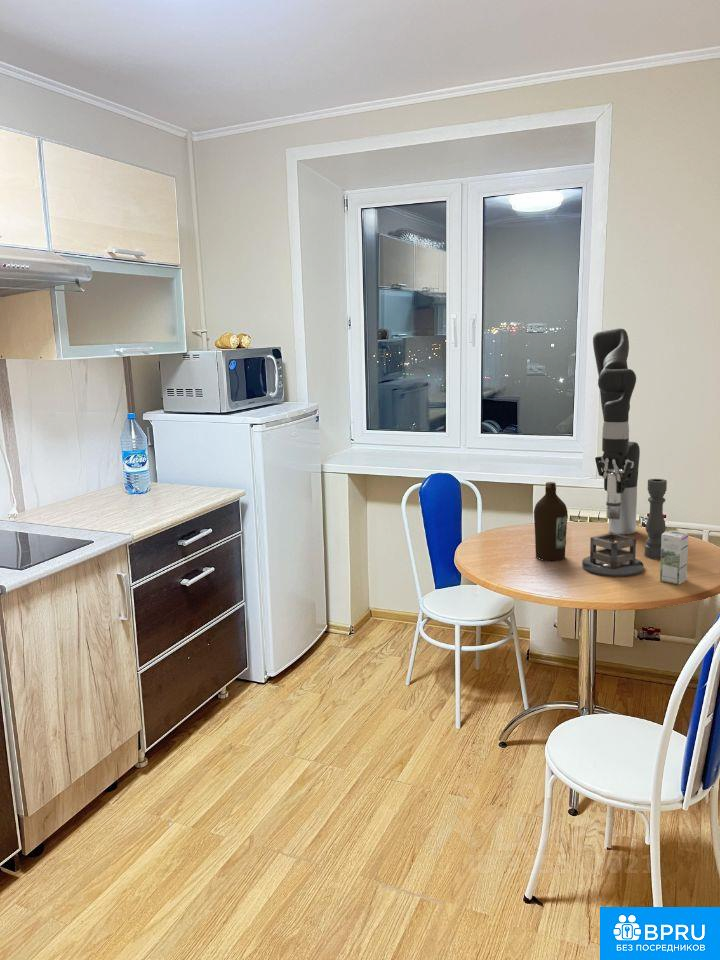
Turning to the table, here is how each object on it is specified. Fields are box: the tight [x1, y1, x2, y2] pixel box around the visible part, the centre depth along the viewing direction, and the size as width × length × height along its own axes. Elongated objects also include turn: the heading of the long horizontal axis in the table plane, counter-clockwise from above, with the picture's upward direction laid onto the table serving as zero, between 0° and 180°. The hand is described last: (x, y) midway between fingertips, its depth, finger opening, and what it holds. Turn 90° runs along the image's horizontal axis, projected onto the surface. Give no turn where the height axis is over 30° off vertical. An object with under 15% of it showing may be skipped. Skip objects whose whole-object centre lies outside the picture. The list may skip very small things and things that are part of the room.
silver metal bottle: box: [605, 471, 621, 520], centre depth 219 cm, size 4×4×14 cm
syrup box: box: [659, 529, 689, 586], centre depth 208 cm, size 6×6×14 cm
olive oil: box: [533, 481, 568, 562], centre depth 234 cm, size 11×11×25 cm
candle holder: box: [644, 478, 668, 560], centre depth 230 cm, size 6×6×25 cm
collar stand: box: [581, 532, 644, 578], centre depth 222 cm, size 18×18×10 cm
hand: (614, 491), depth 218 cm, fingers closed on silver metal bottle, 4 cm apart
